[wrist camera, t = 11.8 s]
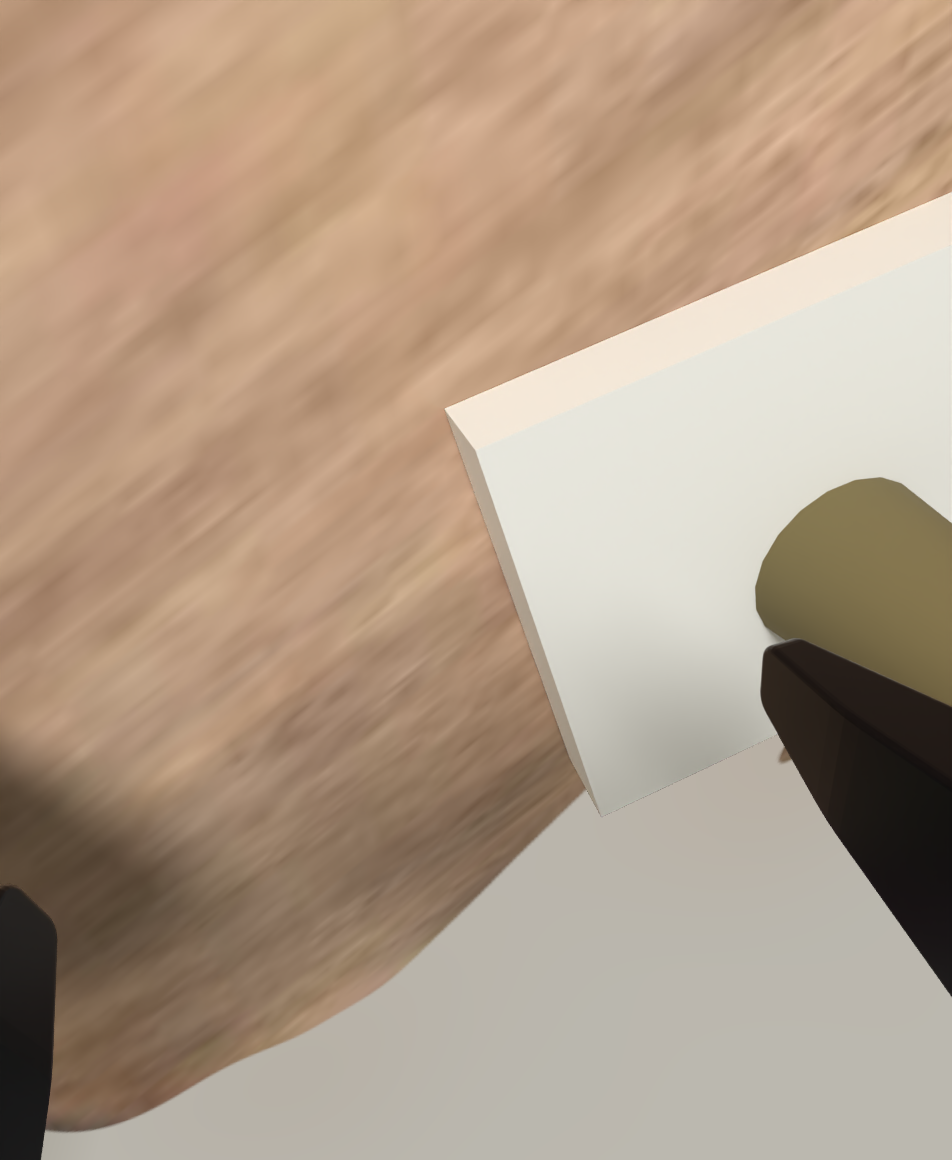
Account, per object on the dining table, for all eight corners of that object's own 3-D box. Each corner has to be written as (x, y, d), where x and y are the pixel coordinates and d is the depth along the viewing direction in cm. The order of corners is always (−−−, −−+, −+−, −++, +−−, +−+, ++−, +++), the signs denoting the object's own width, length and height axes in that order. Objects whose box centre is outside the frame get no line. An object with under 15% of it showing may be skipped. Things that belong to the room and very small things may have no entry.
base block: (570, 759, 30) (601, 817, 27) (444, 408, 20) (475, 450, 18) (915, 599, 31) (975, 641, 28) (951, 192, 21) (1046, 203, 19)
